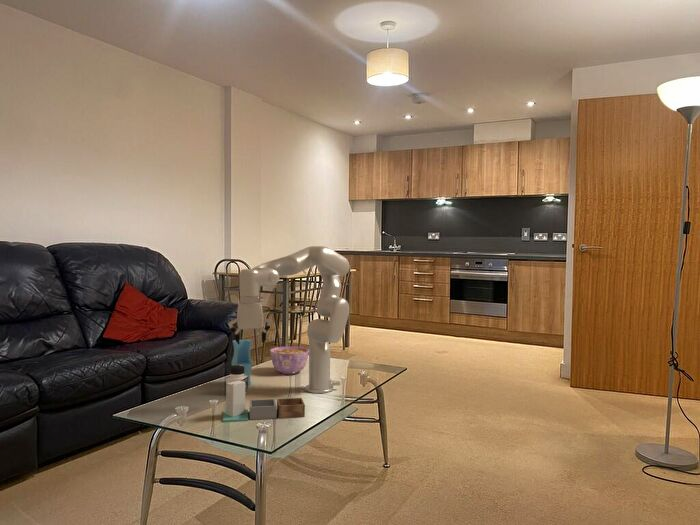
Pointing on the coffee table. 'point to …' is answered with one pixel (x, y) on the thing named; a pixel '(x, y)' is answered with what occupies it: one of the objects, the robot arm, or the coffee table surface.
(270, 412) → the grey bin
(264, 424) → the coffee table surface
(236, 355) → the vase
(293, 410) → the walnut bin
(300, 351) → the bowl of food
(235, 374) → the medicine bottle
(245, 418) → the teal pad
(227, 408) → the skincare box
